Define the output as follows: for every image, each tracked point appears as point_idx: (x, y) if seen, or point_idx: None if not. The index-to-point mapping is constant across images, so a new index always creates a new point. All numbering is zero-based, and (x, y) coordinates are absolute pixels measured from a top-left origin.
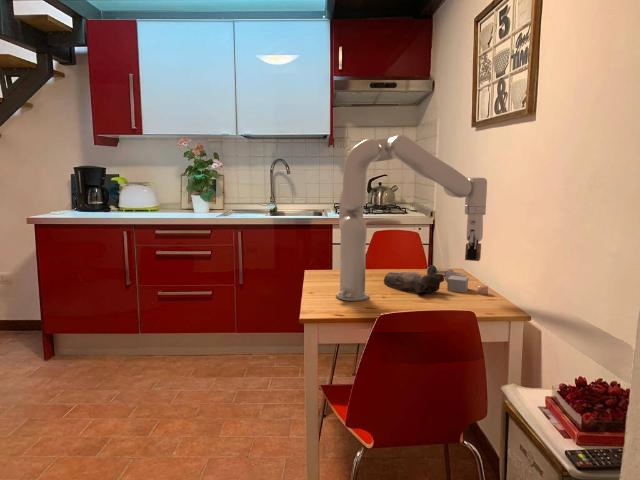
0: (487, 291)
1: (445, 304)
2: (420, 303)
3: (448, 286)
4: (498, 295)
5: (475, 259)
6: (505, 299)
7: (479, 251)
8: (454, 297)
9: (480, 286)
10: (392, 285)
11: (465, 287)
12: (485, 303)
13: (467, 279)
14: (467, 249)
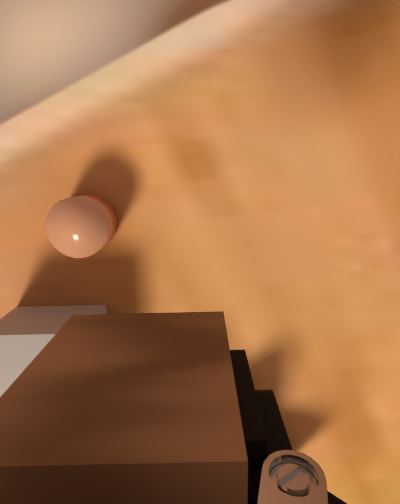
0: (90, 197)
1: (371, 343)
2: (391, 432)
3: None
4: (82, 136)
5: (243, 352)
6: (153, 89)
7: (211, 375)
8: (230, 331)
9: (81, 241)
10: None
11: (93, 314)
12: (283, 180)
13: (9, 330)
14: None
